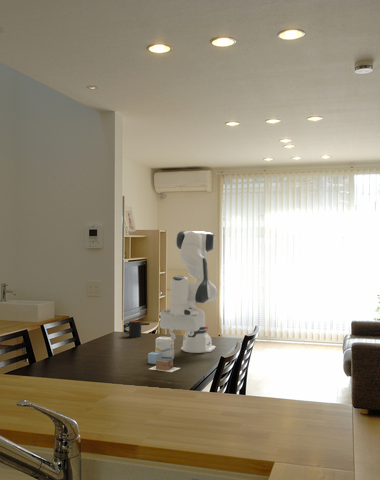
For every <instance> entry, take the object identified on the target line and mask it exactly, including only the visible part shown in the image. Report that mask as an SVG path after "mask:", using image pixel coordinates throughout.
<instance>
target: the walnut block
mask: <svg viewBox="0 0 380 480" xmlns="http://www.w3.org/2000/svg"><path fill="white" fill-rule="evenodd" d="M155 366H156V369H159V370H158V371H160V370H169V369H172V368H173V367H174V359H164V358H162V359H159V360H157V361H156V364H155Z"/></svg>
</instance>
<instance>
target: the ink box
mask: <svg viewBox="0 0 380 480" xmlns="http://www.w3.org/2000/svg"><path fill="white" fill-rule="evenodd" d="M154 352H160V353H162V358H164V359H172V360H174V359H175V339H171V336H159V337H157V338H155V351H154Z"/></svg>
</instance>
